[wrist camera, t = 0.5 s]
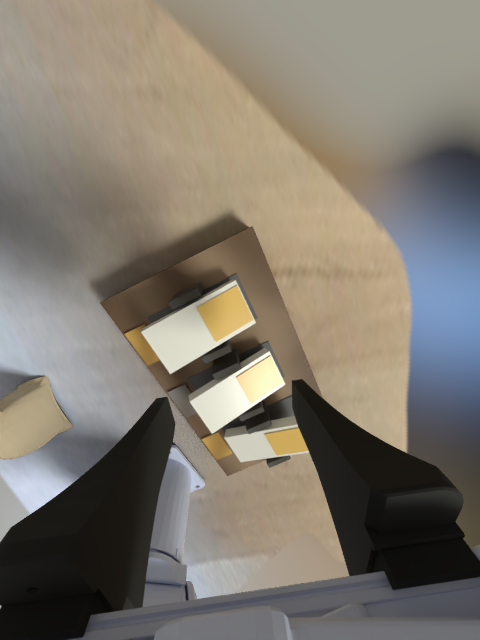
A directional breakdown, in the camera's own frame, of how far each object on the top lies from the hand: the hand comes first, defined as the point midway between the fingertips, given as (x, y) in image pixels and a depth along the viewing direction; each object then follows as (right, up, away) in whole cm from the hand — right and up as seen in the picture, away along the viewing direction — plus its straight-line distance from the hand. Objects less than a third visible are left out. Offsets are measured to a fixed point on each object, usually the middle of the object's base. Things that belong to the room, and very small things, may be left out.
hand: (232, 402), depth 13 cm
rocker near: (-3, +4, +5) cm, 7 cm away
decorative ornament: (-20, -4, +11) cm, 23 cm away
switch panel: (0, 0, +11) cm, 11 cm away
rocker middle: (0, -2, +7) cm, 7 cm away
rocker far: (+3, -8, +10) cm, 13 cm away
